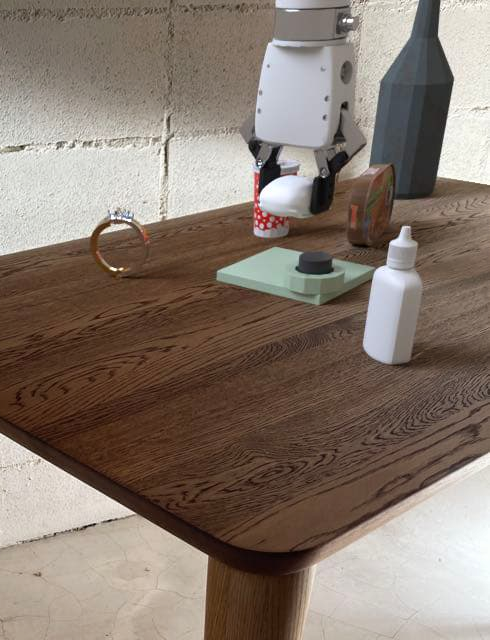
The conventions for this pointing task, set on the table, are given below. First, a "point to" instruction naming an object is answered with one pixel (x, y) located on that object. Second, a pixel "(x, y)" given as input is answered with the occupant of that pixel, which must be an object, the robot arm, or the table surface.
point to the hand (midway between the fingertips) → (293, 205)
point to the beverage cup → (263, 220)
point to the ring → (119, 218)
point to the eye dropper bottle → (394, 304)
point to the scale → (294, 276)
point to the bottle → (414, 108)
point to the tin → (370, 204)
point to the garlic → (288, 196)
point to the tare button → (315, 263)
